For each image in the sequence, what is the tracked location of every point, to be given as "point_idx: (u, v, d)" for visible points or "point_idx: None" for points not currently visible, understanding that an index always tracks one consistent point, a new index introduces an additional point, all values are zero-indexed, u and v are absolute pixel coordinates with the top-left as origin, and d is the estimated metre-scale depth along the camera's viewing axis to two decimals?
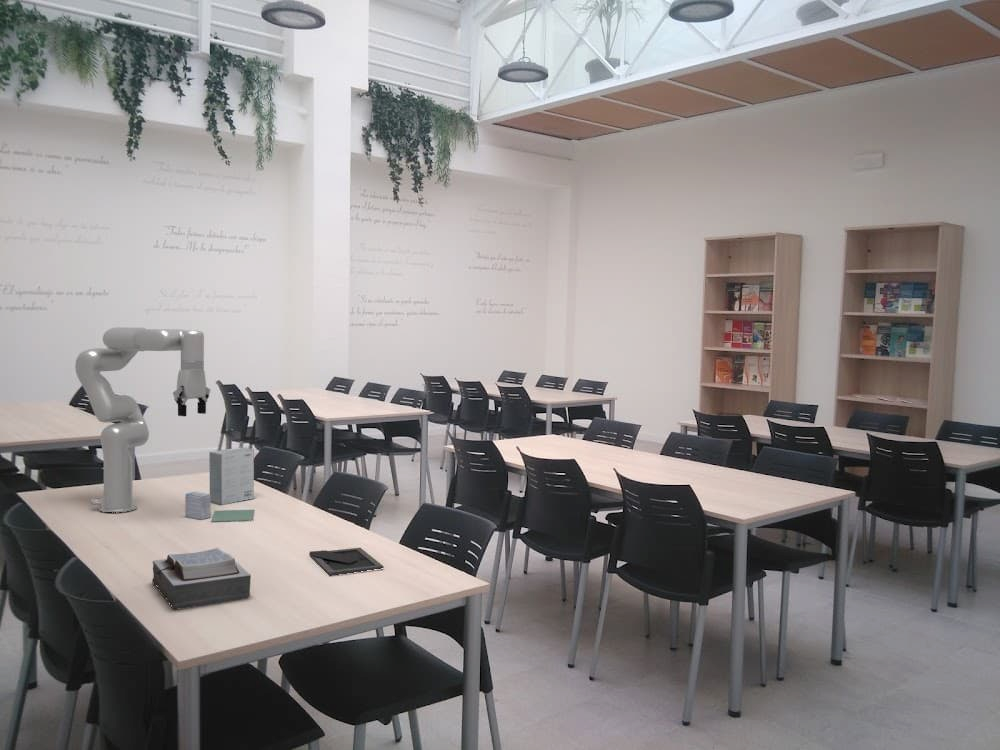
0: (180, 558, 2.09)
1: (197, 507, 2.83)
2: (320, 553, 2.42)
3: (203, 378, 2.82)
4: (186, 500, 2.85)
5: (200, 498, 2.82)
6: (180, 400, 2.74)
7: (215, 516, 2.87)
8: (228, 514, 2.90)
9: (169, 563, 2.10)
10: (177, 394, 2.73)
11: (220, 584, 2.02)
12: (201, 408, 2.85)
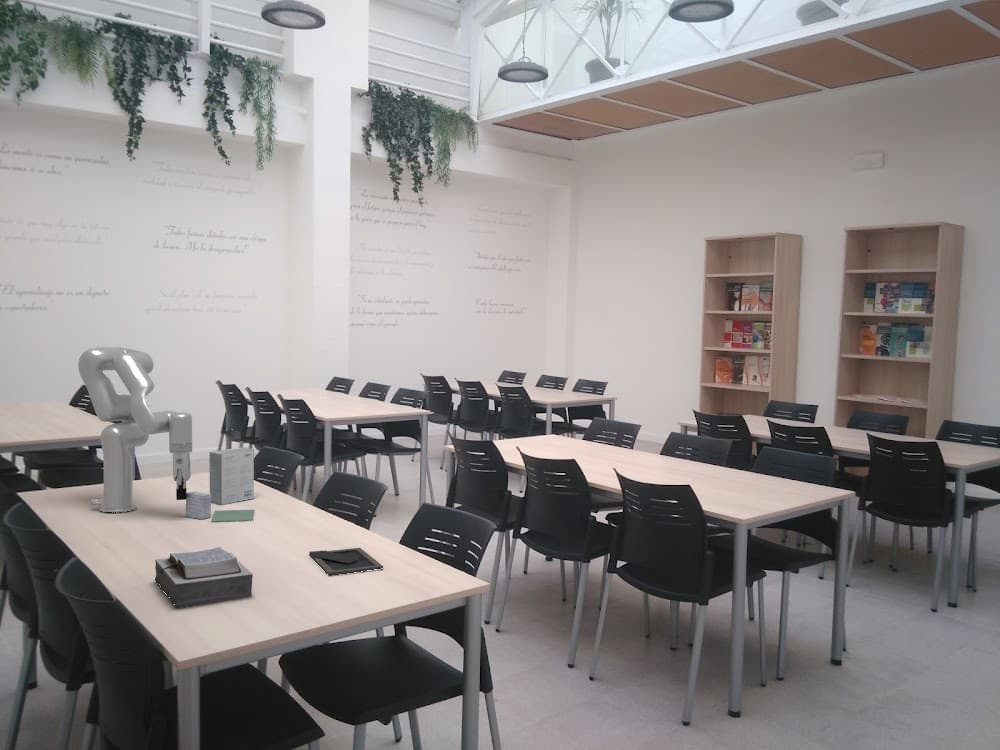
0: (182, 557, 2.10)
1: (198, 506, 2.83)
2: (320, 553, 2.42)
3: (173, 461, 2.80)
4: (186, 499, 2.85)
5: (201, 497, 2.83)
6: None
7: (215, 516, 2.87)
8: (228, 514, 2.90)
9: (171, 562, 2.11)
10: None
11: (222, 583, 2.02)
12: None
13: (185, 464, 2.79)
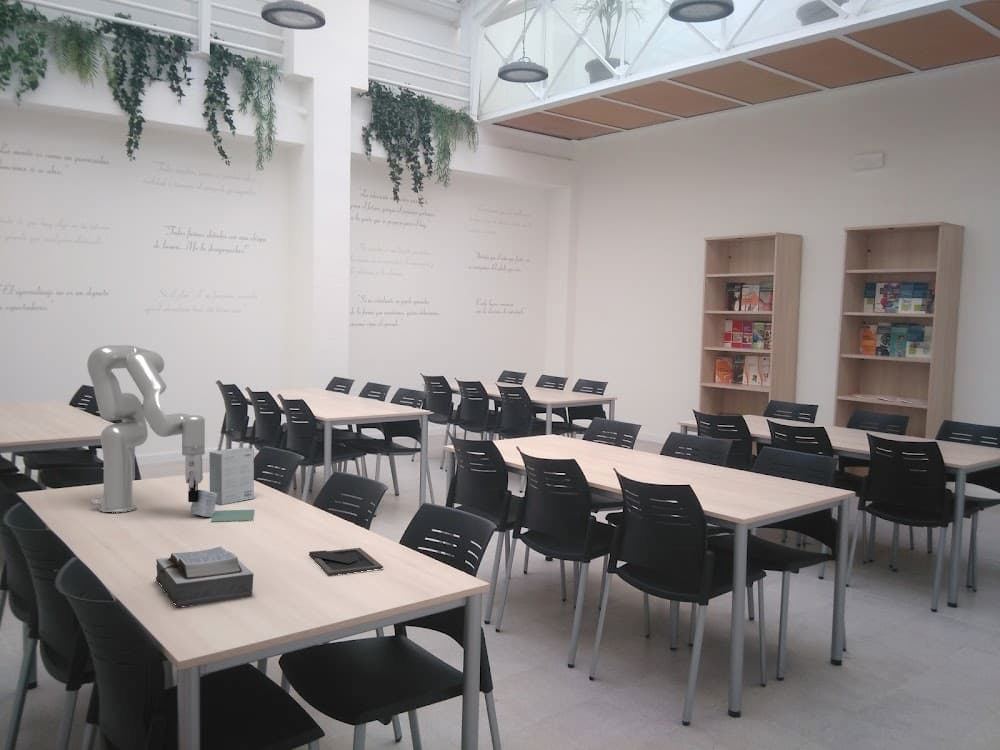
0: (183, 556, 2.10)
1: (201, 503, 2.85)
2: (320, 553, 2.42)
3: (185, 464, 2.81)
4: None
5: (206, 494, 2.85)
6: None
7: (215, 516, 2.87)
8: (228, 514, 2.90)
9: (172, 561, 2.12)
10: None
11: (223, 582, 2.03)
12: None
13: (197, 467, 2.80)
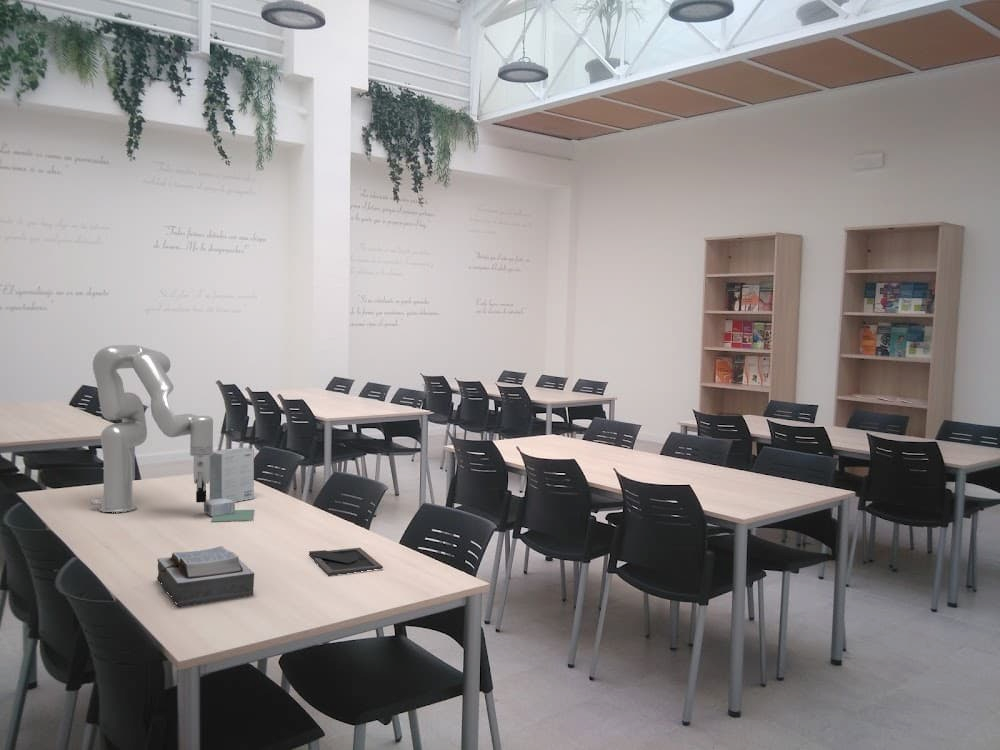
0: (184, 556, 2.11)
1: (221, 502, 2.90)
2: (320, 553, 2.42)
3: None
4: None
5: (231, 501, 2.91)
6: None
7: (215, 516, 2.87)
8: (228, 514, 2.90)
9: (173, 561, 2.12)
10: None
11: (224, 581, 2.03)
12: None
13: (206, 467, 2.81)
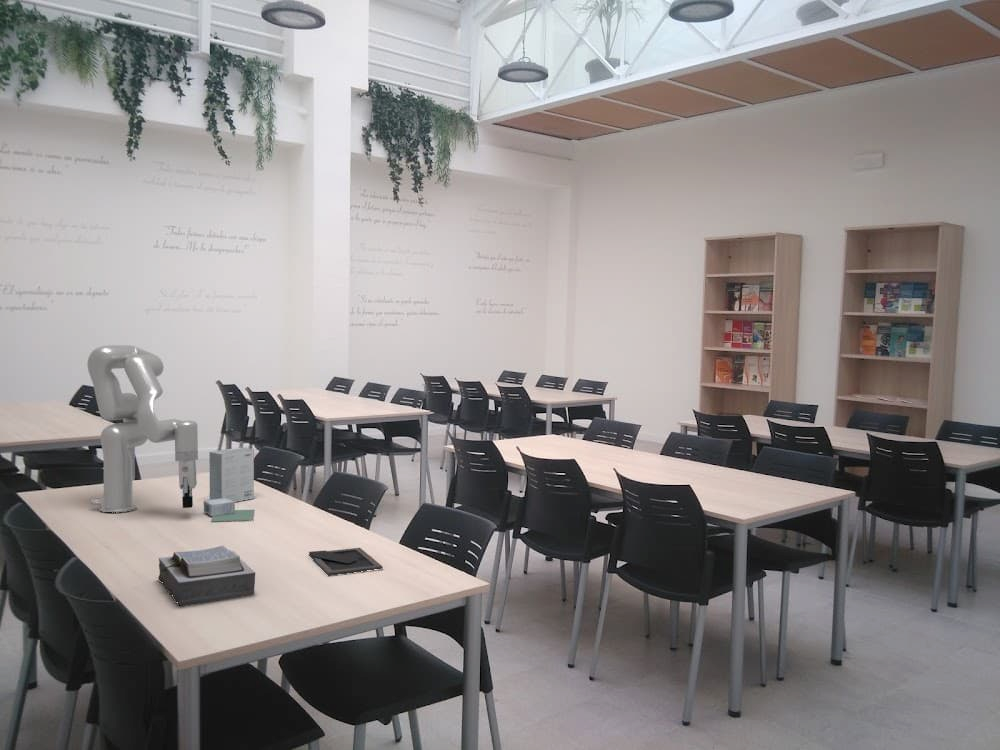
0: (186, 555, 2.11)
1: (221, 502, 2.90)
2: (319, 553, 2.42)
3: None
4: None
5: (231, 501, 2.91)
6: None
7: (215, 516, 2.87)
8: (228, 514, 2.90)
9: (175, 560, 2.13)
10: None
11: (225, 581, 2.04)
12: None
13: (191, 472, 2.80)
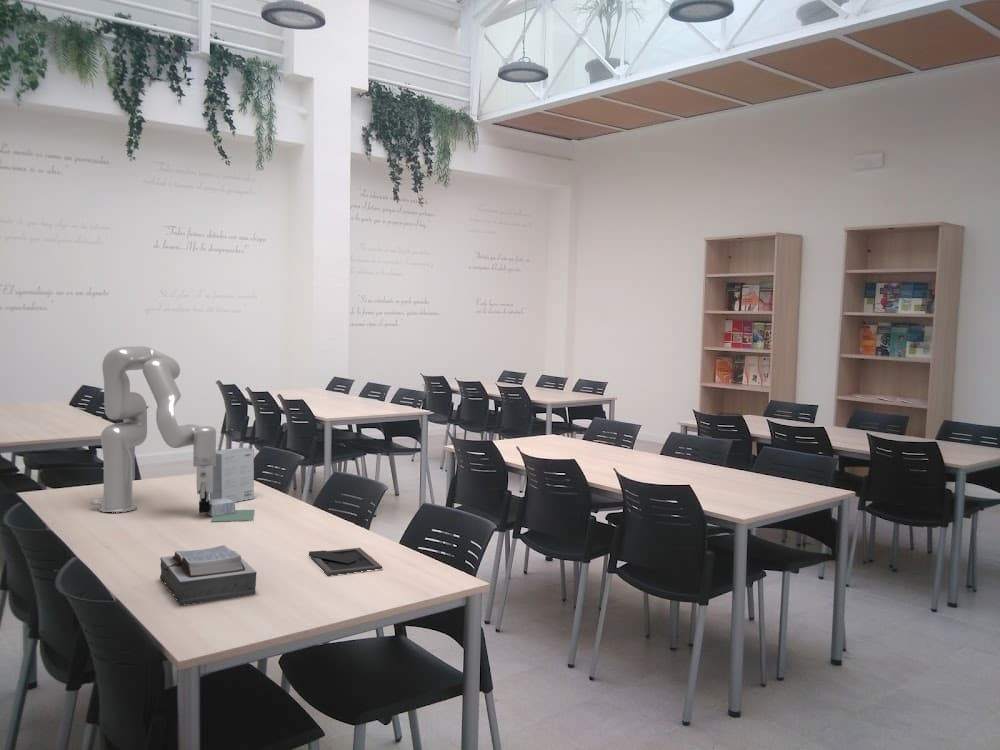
0: (187, 555, 2.12)
1: (221, 502, 2.90)
2: (319, 553, 2.42)
3: None
4: (221, 498, 2.95)
5: (232, 501, 2.91)
6: None
7: (215, 516, 2.87)
8: (228, 514, 2.90)
9: (176, 559, 2.13)
10: None
11: (227, 580, 2.04)
12: None
13: (209, 478, 2.82)
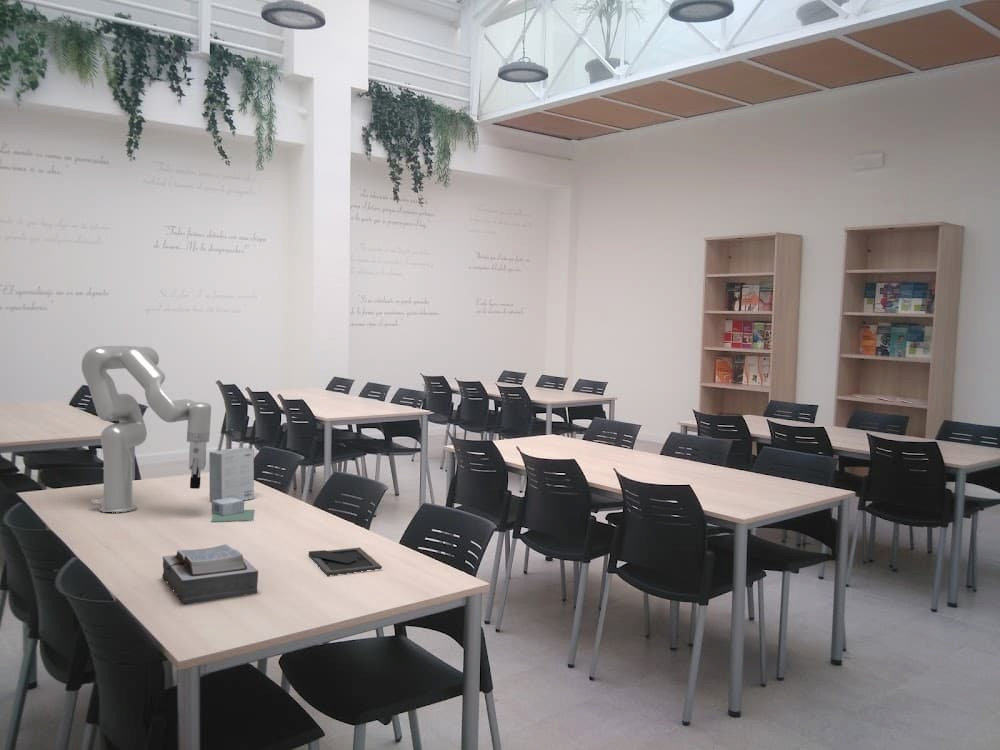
0: (189, 554, 2.13)
1: (231, 501, 2.92)
2: (319, 553, 2.42)
3: None
4: (227, 498, 2.97)
5: (241, 500, 2.94)
6: None
7: (215, 516, 2.87)
8: None
9: (178, 558, 2.14)
10: None
11: (228, 579, 2.05)
12: None
13: (201, 454, 2.82)
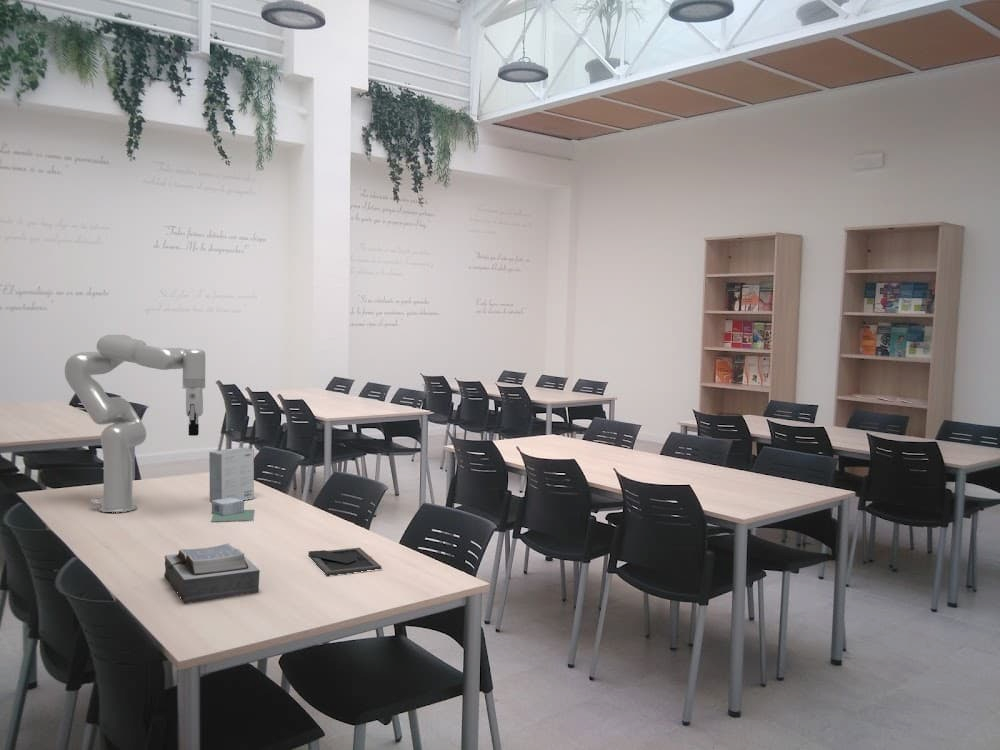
0: (191, 553, 2.14)
1: (231, 501, 2.92)
2: (319, 553, 2.42)
3: (186, 397, 2.82)
4: (227, 498, 2.97)
5: (241, 500, 2.94)
6: None
7: (215, 516, 2.87)
8: None
9: (180, 558, 2.15)
10: None
11: (230, 578, 2.06)
12: None
13: (198, 399, 2.82)
